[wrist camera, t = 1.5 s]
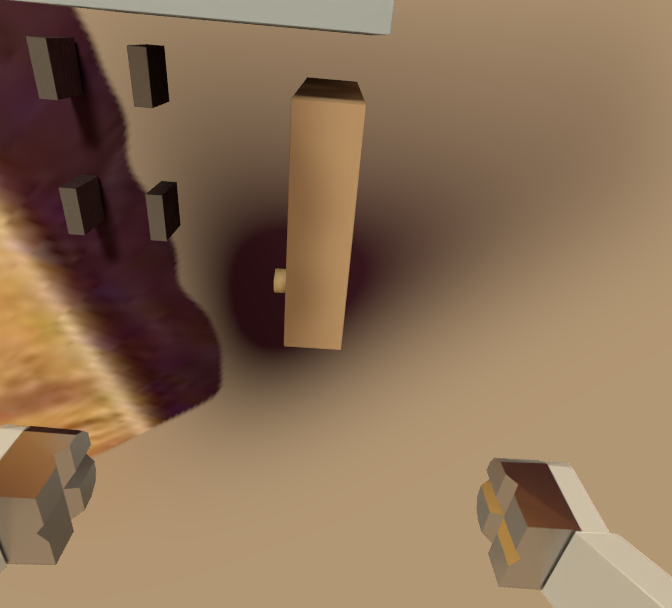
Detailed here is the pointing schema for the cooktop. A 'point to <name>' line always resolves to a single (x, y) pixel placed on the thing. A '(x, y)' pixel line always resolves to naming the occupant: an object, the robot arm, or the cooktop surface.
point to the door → (321, 210)
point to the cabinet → (261, 12)
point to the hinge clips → (148, 91)
